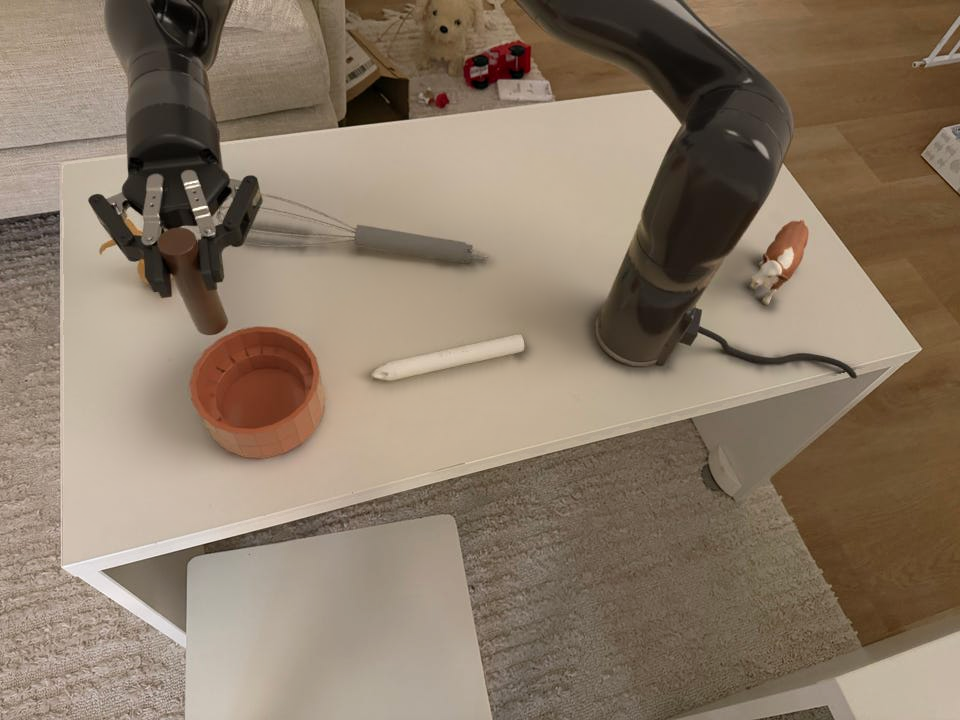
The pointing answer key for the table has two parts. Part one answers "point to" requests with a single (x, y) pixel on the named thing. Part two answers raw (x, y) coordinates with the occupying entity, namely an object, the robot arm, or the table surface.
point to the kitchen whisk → (382, 239)
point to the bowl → (258, 391)
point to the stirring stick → (192, 280)
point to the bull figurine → (781, 258)
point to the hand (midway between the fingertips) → (186, 286)
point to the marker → (449, 358)
